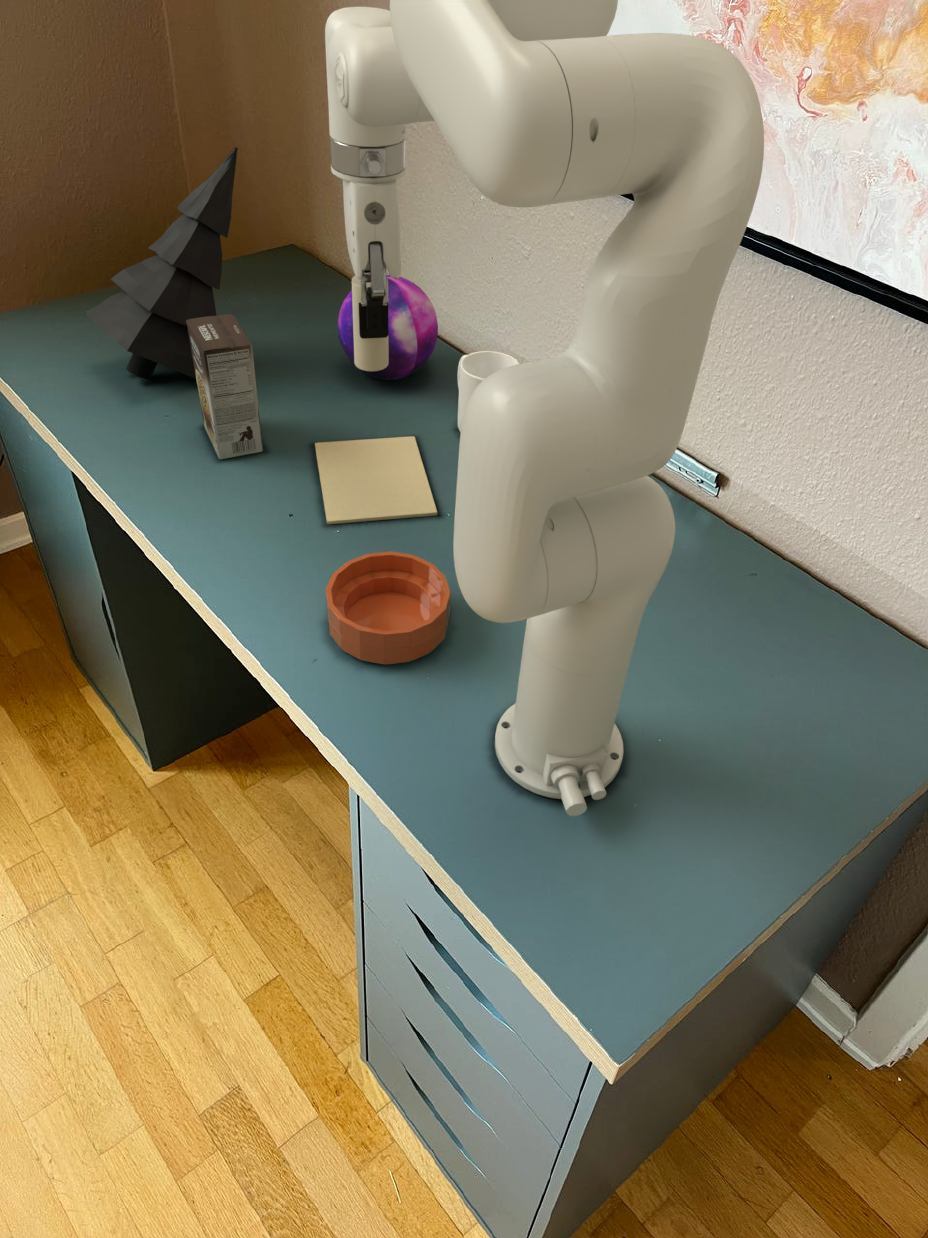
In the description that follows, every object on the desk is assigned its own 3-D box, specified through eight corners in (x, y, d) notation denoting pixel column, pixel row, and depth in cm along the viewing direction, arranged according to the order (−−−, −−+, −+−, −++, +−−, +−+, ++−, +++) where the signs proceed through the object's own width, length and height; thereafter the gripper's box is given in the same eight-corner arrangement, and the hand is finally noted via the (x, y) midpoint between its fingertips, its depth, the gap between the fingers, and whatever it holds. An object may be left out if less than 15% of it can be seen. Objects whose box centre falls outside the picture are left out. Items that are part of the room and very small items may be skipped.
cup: (476, 450, 129) (481, 385, 122) (433, 410, 136) (435, 346, 129) (525, 436, 132) (532, 371, 125) (480, 397, 139) (485, 334, 132)
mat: (437, 515, 117) (437, 512, 117) (327, 524, 115) (327, 521, 115) (414, 438, 130) (414, 435, 130) (314, 445, 128) (314, 442, 127)
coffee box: (202, 427, 130) (184, 318, 119) (247, 418, 132) (233, 311, 121) (218, 461, 124) (200, 349, 113) (265, 452, 126) (252, 342, 115)
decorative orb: (395, 341, 151) (395, 250, 141) (456, 378, 143) (460, 284, 133) (320, 368, 143) (314, 273, 133) (380, 408, 136) (379, 311, 125)
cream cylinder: (390, 370, 107) (390, 286, 100) (356, 372, 106) (353, 288, 99) (386, 353, 110) (385, 271, 103) (352, 355, 109) (349, 272, 102)
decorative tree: (202, 408, 139) (304, 187, 130) (115, 379, 128) (220, 133, 118) (157, 368, 147) (250, 157, 138) (71, 338, 135) (166, 104, 126)
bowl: (458, 659, 99) (460, 626, 96) (335, 673, 97) (332, 640, 93) (436, 580, 108) (437, 547, 105) (323, 591, 106) (321, 557, 102)
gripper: (418, 184, 87) (415, 361, 100) (392, 129, 99) (393, 294, 112) (339, 185, 86) (346, 364, 98) (322, 129, 98) (330, 296, 110)
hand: (371, 325), depth 105 cm, fingers closed on cream cylinder, 4 cm apart
